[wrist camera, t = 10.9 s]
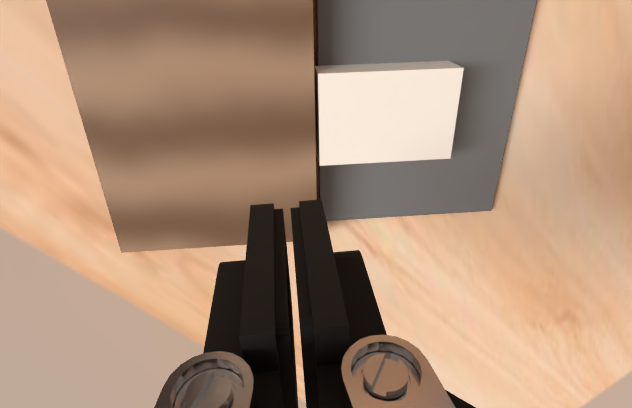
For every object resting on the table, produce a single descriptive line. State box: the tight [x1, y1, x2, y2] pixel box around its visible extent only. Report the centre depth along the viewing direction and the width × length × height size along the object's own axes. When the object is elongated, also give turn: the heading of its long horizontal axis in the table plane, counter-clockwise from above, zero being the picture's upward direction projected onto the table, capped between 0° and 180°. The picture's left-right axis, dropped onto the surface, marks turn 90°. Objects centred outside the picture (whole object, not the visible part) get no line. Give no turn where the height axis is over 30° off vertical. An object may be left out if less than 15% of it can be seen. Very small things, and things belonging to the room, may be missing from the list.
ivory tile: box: [314, 61, 464, 166], centre depth 28 cm, size 6×9×2 cm, turn 91°
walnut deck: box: [46, 0, 317, 253], centre depth 27 cm, size 18×14×3 cm
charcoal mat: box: [317, 0, 537, 221], centre depth 29 cm, size 18×14×1 cm
